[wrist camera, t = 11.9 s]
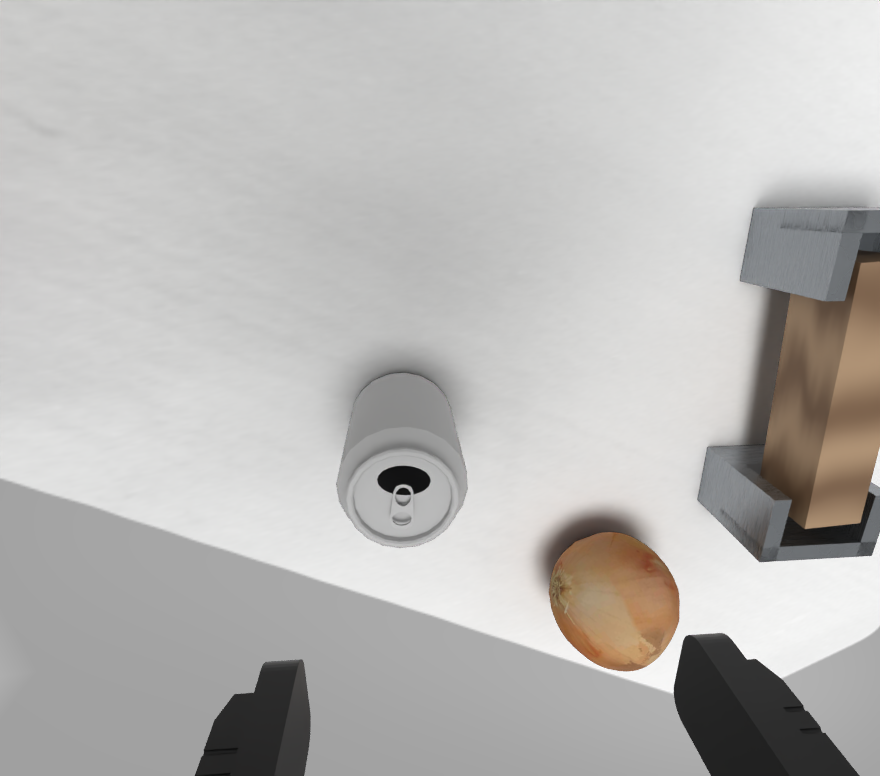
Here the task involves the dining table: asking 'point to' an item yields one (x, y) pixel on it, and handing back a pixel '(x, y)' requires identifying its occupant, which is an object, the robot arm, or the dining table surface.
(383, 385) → the can
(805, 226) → the cup brackets
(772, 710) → the robot arm
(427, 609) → the dining table surface
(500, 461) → the dining table surface
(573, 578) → the onion
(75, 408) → the dining table surface
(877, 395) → the rail
